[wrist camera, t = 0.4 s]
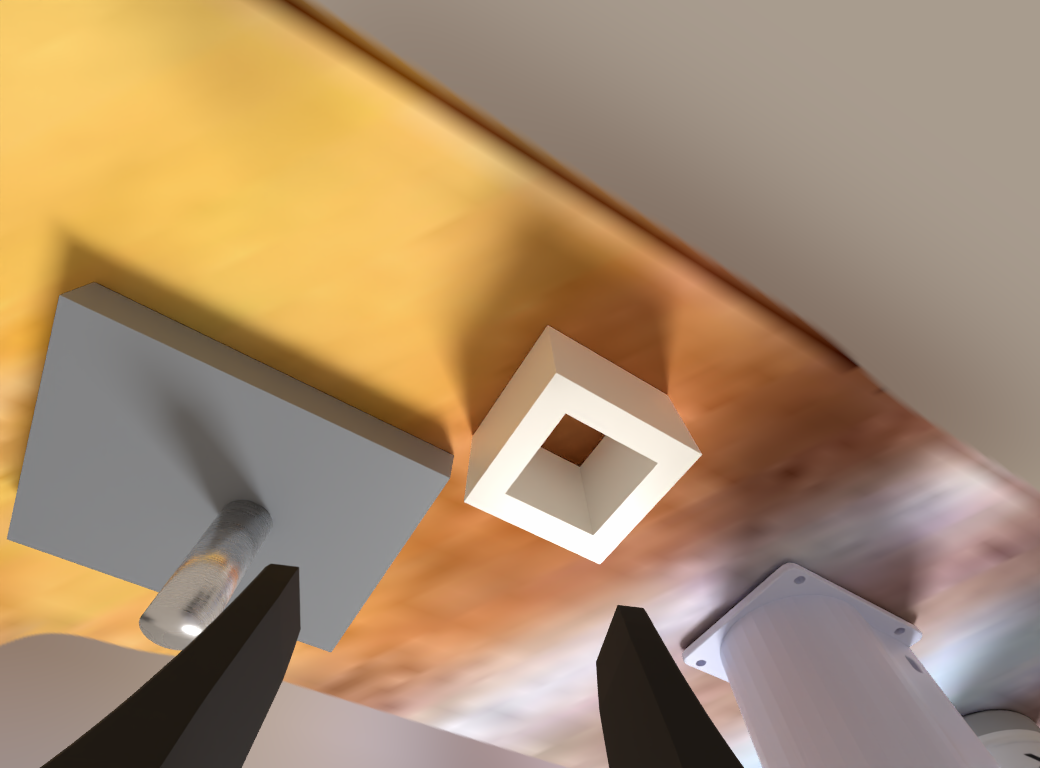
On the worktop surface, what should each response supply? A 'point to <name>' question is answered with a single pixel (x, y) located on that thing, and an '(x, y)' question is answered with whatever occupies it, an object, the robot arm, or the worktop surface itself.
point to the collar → (608, 469)
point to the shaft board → (210, 472)
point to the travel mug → (1007, 737)
